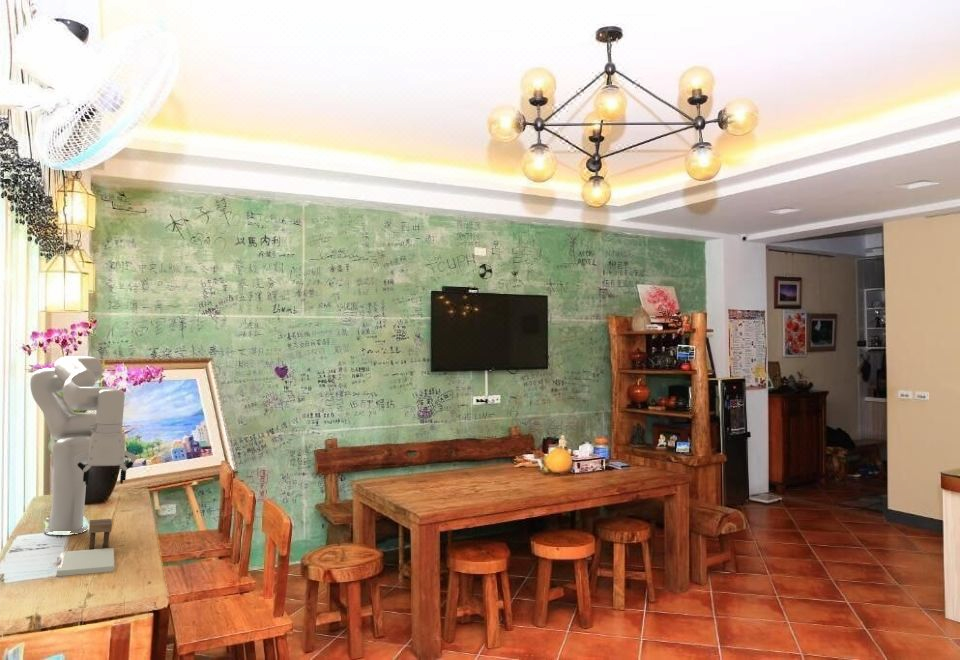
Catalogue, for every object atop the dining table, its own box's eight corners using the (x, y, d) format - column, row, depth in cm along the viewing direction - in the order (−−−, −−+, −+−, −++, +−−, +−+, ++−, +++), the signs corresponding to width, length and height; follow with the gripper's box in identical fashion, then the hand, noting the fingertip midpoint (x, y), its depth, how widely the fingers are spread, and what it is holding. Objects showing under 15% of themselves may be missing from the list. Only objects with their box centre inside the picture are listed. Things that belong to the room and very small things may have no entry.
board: (60, 556, 203) (60, 551, 203) (113, 552, 210) (113, 547, 210) (56, 576, 188) (56, 570, 188) (114, 571, 194) (114, 566, 194)
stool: (87, 545, 215) (90, 520, 216) (109, 544, 218) (111, 518, 219) (87, 551, 210) (89, 524, 210) (109, 549, 213) (111, 523, 213)
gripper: (76, 430, 208) (71, 486, 207) (139, 430, 216) (135, 484, 216) (77, 427, 214) (72, 481, 214) (138, 427, 223) (134, 480, 222)
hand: (104, 483), depth 215 cm, fingers open, 9 cm apart
